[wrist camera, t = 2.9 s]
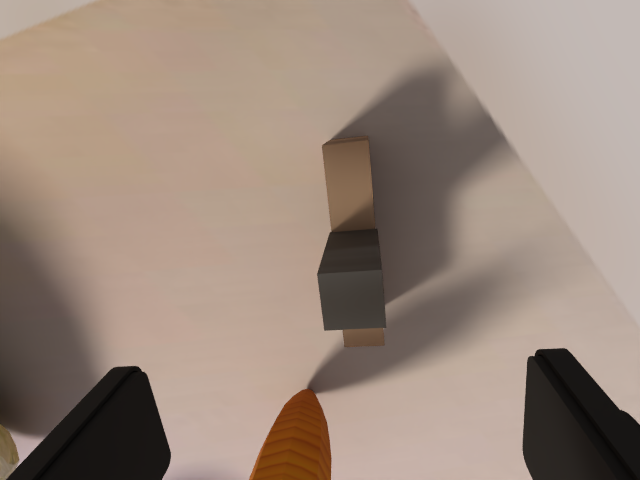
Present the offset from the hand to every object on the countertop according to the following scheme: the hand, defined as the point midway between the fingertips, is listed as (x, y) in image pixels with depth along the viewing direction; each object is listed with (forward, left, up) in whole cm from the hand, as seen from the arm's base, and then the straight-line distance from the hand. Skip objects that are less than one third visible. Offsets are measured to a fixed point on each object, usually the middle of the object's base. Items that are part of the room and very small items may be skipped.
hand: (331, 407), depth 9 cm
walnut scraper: (0, 0, -18) cm, 18 cm away
